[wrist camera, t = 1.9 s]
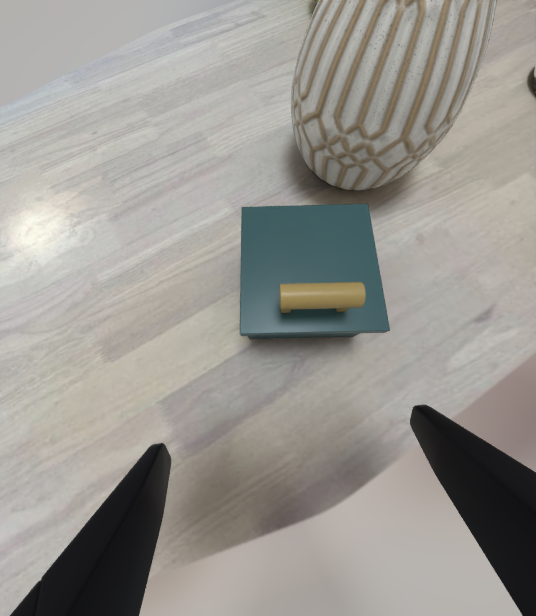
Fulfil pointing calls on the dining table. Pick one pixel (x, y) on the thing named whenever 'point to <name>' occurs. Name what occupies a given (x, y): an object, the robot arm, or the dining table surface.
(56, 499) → the dining table surface
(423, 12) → the vase
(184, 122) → the dining table surface
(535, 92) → the pastry
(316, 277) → the box lid
